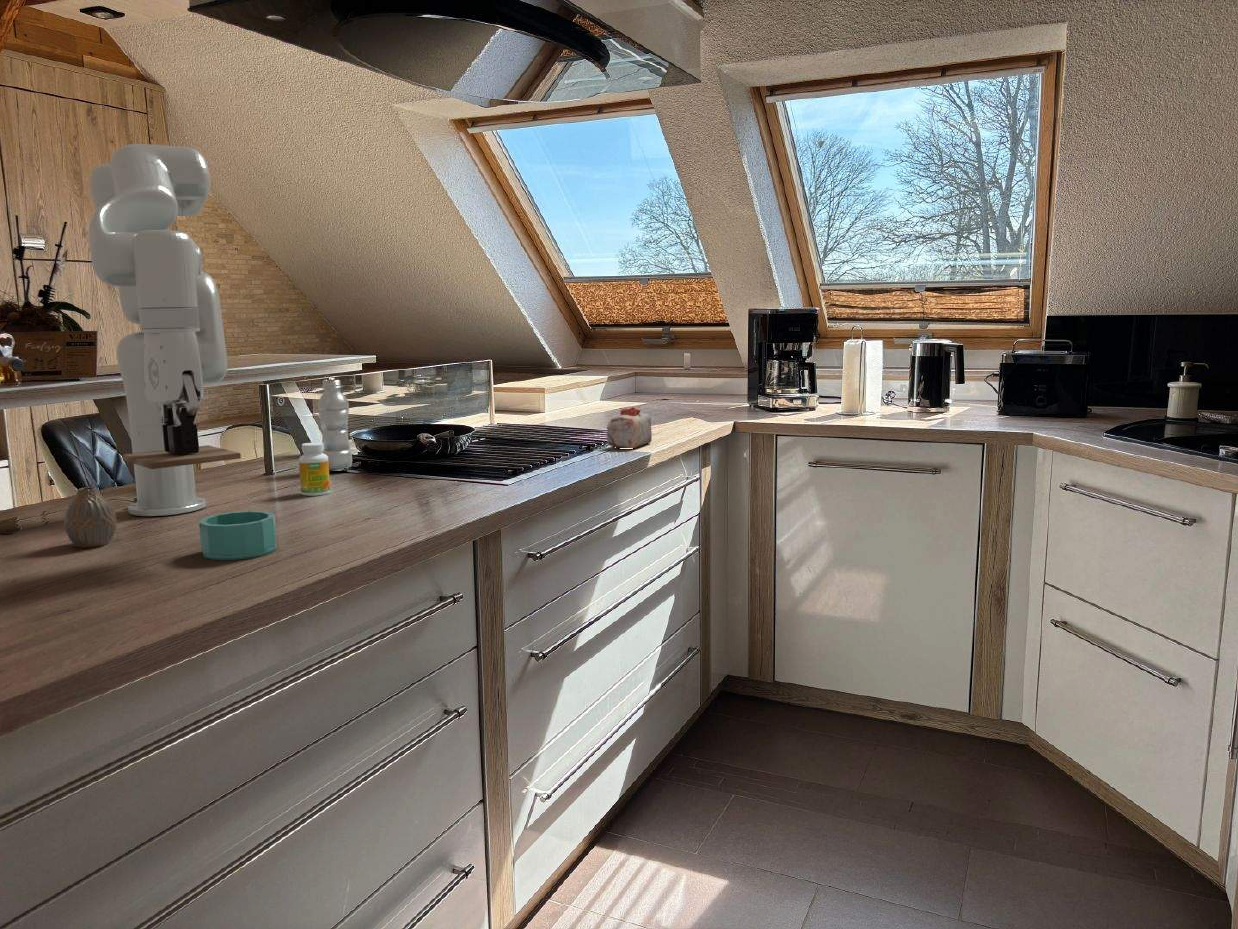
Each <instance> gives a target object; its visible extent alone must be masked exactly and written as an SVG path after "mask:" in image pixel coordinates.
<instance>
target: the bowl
mask: <svg viewBox="0 0 1238 929" xmlns="http://www.w3.org/2000/svg"><path fill="white" fill-rule="evenodd" d="M198 523H199V525H198V526H199V535H200V548H201V552H202V556H203V557H204V558H205V559H207V560H210V561H211V560H213V561H241V560H248V559H254V558H258V557H262V556H266V555H269V554H271V553H274V552H275V551H276V550H277V528H276V517H275V513H273V512H271V511H270V512H269V511H266V510H265V511H264V510H262V511H261V510H242V511H230V512H224V513H219V514H218V513H217V514H213V515H210V516H207V517H204V518H201V519H200V520H199V522H198Z"/></svg>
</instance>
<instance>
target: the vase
mask: <svg viewBox="0 0 1238 929" xmlns="http://www.w3.org/2000/svg"><path fill="white" fill-rule="evenodd" d="M63 519H64V520H63V522H64V530H65V532H66V535H67V537H68V539H69V540H70V541H71V543H73V544H74V546H77V547H78V548H82V549H83V548H84V549H87V548H97V547H101V546H105V545H108V543H110V541H111V540H112V539H113V538H114V536H115V533H116V531H117V530H116V529H117V516H116V512H115V510H114V507H113V506H112V504H111V503H110V502H109V501H108V500H107V499H106V498H105V497H104V496H103V495H102V494H101V493H100V492H99V490H98V489H97V487H93V486H88V487H87V486H86V487H81V488H77V492H76V493H75V496H74V497H73V499H72V500H71V502H70V503H69V504H68V506H67V508H66V510H65V514H64V518H63Z"/></svg>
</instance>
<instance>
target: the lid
mask: <svg viewBox="0 0 1238 929" xmlns="http://www.w3.org/2000/svg"><path fill="white" fill-rule="evenodd" d="M172 426H175V425H171V426H167V431H168V441H169V452H166V451H165V450H161V451H152V452H142V453H133V452H132V453H125V454H124V453H123V454H122V460H123V461H125V462H127V463H131V464H132V465H134V464H137V465H140V466H143V467H146V468H149V469H158V468H166V467H174V466H183V465H191V464H193V465H198V464H205V463H206V464H208V463H214V462H222V461H223V462H224V461H231V460H240V459H241V458H242V457H241V456H242V455H241V452H239V451H238V452H237V451H235V450H234V451H233V450H230V449H224V448H222V447H221V448H220V447H216V446H213V445H201V446H199V452H198V453H192V454H183V455H176V454H175V453H174V444H173V433H172Z"/></svg>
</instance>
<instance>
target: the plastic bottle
mask: <svg viewBox="0 0 1238 929" xmlns="http://www.w3.org/2000/svg"><path fill="white" fill-rule="evenodd" d="M341 389H342V383H341V379H325V380H322V390H324V391H323V393H322V395H321V396H320V398H319V400H318V401H317V402H318V403H317V410H318V415H319V419H320V420H319V421H320V427H321V435H322V436H321V437H322V438H321V443H323V445H324V451H323V454H326V455H327V456H328V463H329V470H337V469H344V468H349V467H350V468H352V464H353V456H352V451H351V449H350V440H349V435H348V434H349V430H348V429H349V424H348V423H349V422H348V421H349V411H350V410H349V408H350V403H349V400H348V399H347V398H346V396H345V394H343V392H341Z"/></svg>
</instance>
